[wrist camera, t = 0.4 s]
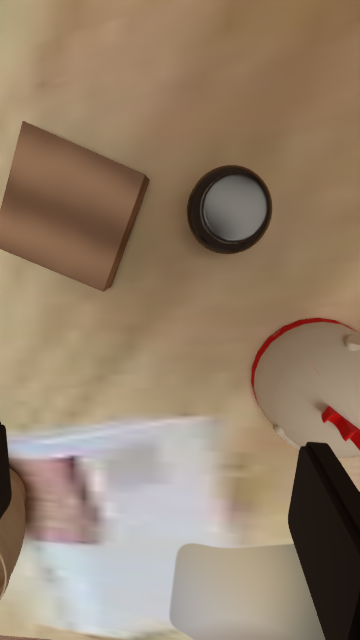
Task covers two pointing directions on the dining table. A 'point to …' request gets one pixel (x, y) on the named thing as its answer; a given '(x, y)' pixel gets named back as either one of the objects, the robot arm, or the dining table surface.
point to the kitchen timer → (312, 384)
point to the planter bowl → (12, 531)
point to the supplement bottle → (229, 209)
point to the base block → (68, 207)
